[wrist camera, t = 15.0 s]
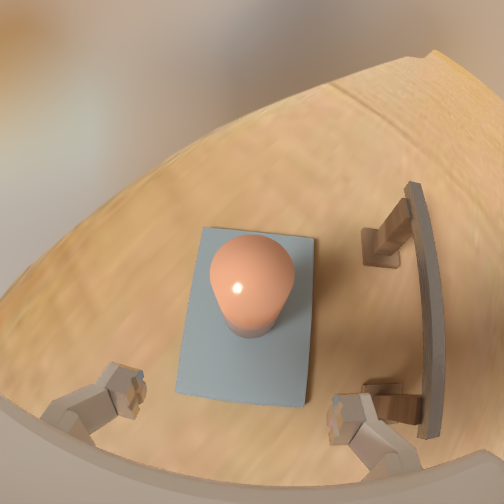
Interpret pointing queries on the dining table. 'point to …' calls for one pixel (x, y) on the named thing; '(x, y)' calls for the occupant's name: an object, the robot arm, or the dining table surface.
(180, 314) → the dining table surface
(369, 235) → the hurdle posts
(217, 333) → the pad
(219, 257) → the terracotta cylinder
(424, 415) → the metal bar
